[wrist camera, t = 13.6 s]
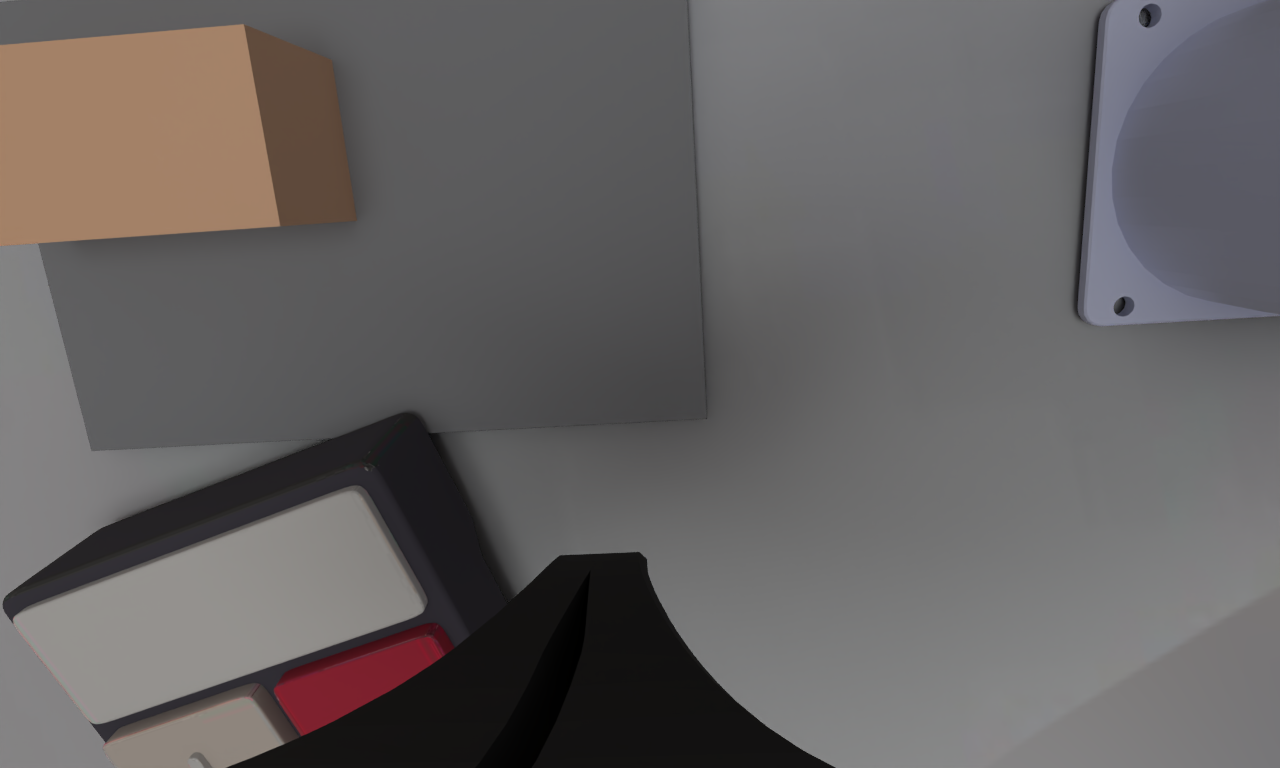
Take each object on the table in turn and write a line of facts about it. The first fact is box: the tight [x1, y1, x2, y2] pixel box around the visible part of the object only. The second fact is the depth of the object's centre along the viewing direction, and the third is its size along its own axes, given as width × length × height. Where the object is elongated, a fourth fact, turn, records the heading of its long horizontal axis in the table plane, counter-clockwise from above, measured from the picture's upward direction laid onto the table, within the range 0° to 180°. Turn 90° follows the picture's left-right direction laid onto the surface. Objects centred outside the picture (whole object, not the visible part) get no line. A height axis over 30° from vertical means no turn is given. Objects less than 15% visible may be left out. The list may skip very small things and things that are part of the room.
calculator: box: [3, 413, 507, 768], centre depth 22 cm, size 11×4×15 cm
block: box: [0, 24, 357, 246], centre depth 18 cm, size 4×4×8 cm
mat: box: [0, 0, 707, 451], centre depth 20 cm, size 18×12×1 cm, turn 94°
